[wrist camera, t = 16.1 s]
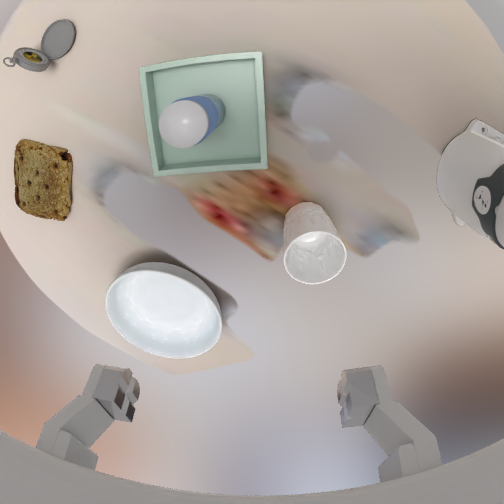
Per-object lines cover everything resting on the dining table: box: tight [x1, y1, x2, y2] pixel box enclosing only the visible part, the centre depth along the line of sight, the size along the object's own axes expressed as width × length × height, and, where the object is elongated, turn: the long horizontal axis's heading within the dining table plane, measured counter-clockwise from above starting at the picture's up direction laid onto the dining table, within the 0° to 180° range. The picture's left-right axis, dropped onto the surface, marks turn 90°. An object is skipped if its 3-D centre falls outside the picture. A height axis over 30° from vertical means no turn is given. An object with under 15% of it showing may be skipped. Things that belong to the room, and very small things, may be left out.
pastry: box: [14, 140, 73, 221], centre depth 40 cm, size 17×17×3 cm
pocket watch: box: [3, 19, 75, 72], centre depth 25 cm, size 8×8×10 cm
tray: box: [139, 52, 268, 177], centre depth 35 cm, size 15×15×4 cm
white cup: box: [283, 202, 347, 284], centre depth 41 cm, size 8×8×10 cm
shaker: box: [159, 94, 226, 148], centre depth 30 cm, size 5×5×12 cm
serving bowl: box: [105, 262, 222, 358], centre depth 51 cm, size 21×21×7 cm
